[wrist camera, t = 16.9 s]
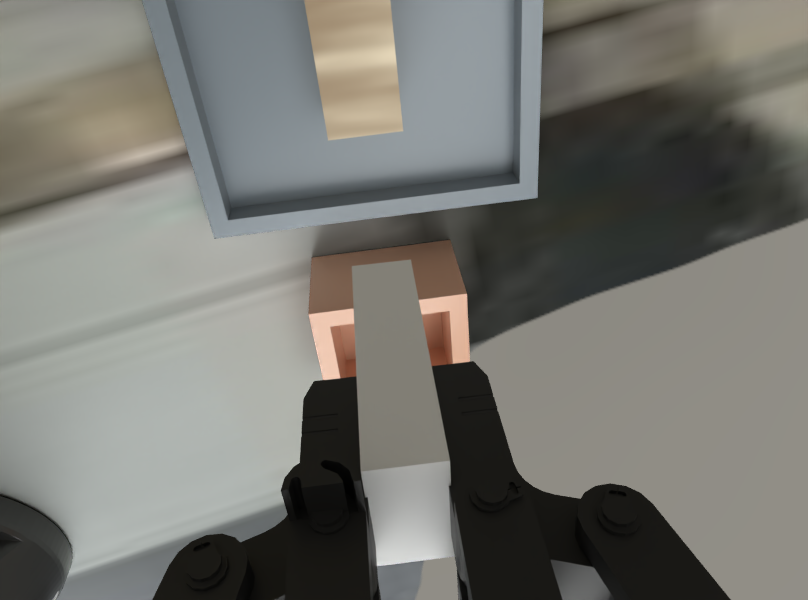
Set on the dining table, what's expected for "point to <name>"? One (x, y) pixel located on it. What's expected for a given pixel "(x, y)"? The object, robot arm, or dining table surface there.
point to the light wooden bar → (355, 66)
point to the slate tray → (359, 156)
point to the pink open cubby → (436, 296)
